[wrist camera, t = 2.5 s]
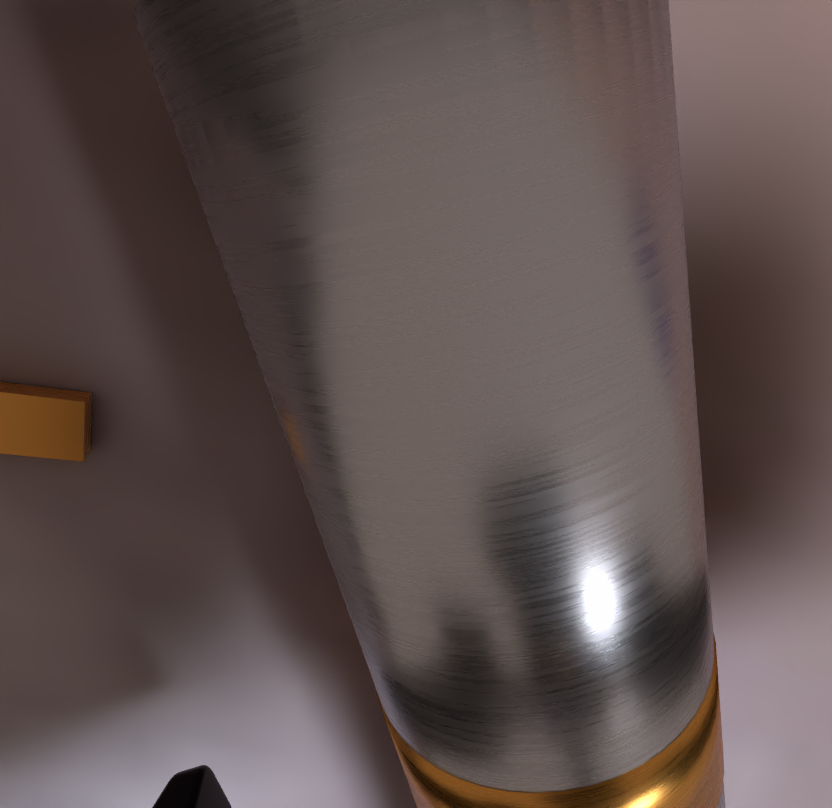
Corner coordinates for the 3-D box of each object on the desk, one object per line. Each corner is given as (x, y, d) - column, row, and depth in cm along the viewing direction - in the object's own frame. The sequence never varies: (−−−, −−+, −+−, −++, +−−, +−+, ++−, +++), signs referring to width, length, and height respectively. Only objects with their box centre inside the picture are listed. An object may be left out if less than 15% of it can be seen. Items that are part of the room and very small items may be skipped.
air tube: (674, 866, 14) (799, 1146, 10) (483, 915, 14) (534, 1214, 10) (561, -44, 7) (798, -226, 3) (196, 53, 7) (29, -20, 3)
